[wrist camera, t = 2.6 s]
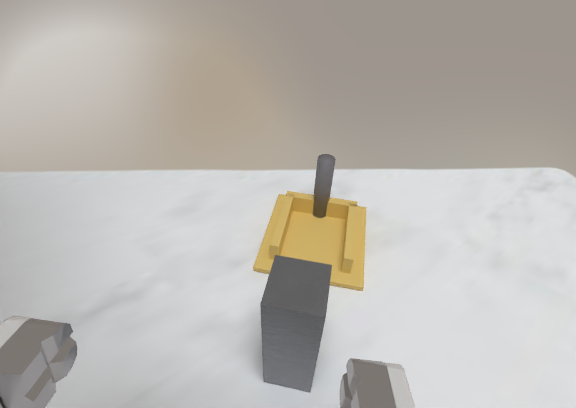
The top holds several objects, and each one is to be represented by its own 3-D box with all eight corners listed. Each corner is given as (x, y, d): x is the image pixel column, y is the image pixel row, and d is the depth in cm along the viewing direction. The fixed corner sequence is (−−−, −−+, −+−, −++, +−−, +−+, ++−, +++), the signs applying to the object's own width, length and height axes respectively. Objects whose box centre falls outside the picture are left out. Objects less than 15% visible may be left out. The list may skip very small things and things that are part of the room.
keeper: (253, 270, 37) (250, 211, 31) (278, 197, 46) (279, 141, 40) (362, 290, 35) (380, 232, 29) (365, 210, 45) (379, 154, 39)
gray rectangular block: (263, 381, 28) (260, 304, 20) (274, 337, 31) (275, 254, 23) (310, 392, 28) (325, 317, 20) (316, 346, 31) (332, 264, 23)
